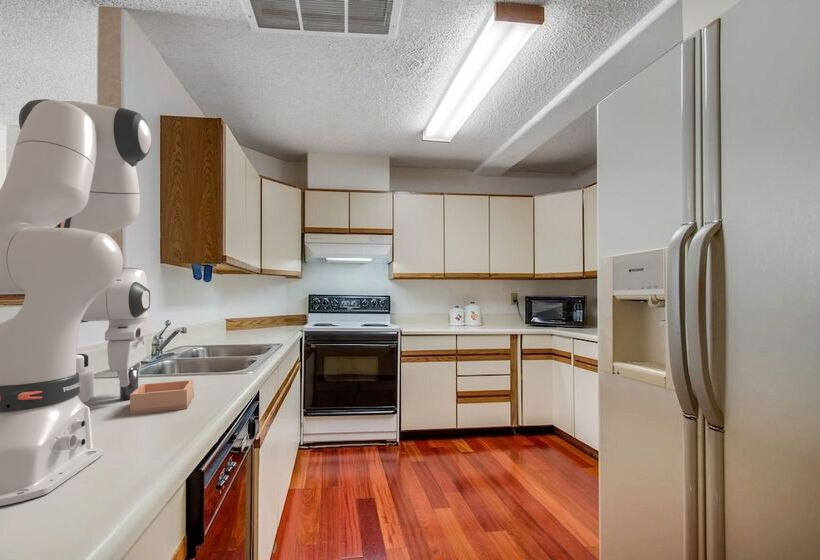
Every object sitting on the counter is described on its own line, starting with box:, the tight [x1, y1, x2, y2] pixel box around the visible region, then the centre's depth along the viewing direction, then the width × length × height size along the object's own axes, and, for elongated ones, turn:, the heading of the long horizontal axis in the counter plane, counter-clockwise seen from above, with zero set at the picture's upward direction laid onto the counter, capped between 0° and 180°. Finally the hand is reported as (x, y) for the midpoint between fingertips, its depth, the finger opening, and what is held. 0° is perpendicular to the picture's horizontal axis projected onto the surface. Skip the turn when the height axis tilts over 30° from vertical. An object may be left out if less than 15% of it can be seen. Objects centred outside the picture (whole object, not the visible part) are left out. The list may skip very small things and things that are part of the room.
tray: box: [129, 379, 195, 415], centre depth 103 cm, size 12×12×4 cm
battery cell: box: [119, 367, 139, 402], centre depth 110 cm, size 4×4×8 cm
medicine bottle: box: [76, 353, 95, 404], centre depth 108 cm, size 7×7×12 cm
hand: (130, 382), depth 110 cm, fingers open, 8 cm apart
